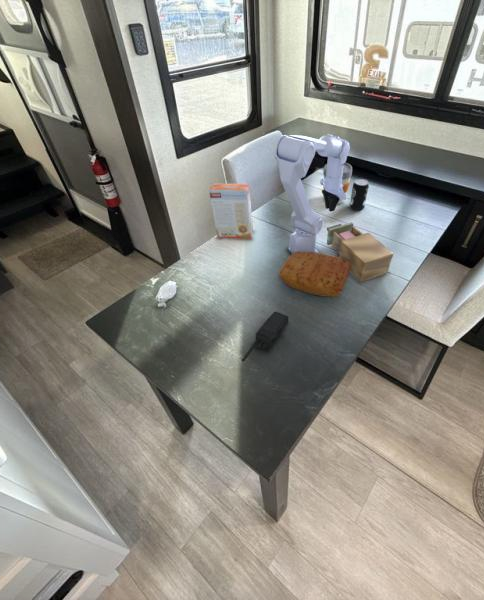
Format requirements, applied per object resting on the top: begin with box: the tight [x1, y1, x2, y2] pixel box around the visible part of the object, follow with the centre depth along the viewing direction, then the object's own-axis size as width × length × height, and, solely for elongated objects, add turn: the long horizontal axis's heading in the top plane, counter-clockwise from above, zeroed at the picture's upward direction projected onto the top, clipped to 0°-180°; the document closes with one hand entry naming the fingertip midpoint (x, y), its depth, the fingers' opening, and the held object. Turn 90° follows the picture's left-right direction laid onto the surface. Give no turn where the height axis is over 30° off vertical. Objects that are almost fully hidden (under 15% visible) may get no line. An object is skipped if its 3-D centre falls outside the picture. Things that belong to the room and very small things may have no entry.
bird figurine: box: [155, 280, 179, 308], centre depth 102 cm, size 5×7×10 cm
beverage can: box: [349, 178, 370, 212], centre depth 137 cm, size 7×7×12 cm
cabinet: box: [338, 232, 394, 283], centre depth 110 cm, size 14×12×9 cm
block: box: [339, 231, 355, 240], centre depth 117 cm, size 4×4×4 cm
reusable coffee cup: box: [322, 162, 353, 205], centre depth 141 cm, size 13×13×15 cm
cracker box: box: [208, 182, 254, 240], centre depth 121 cm, size 14×6×21 cm, turn 84°
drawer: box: [326, 221, 363, 254], centre depth 117 cm, size 17×10×7 cm, turn 24°
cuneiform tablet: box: [278, 252, 351, 298], centre depth 104 cm, size 22×17×8 cm
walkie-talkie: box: [241, 311, 289, 363], centre depth 88 cm, size 6×6×20 cm
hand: (330, 209), depth 121 cm, fingers closed
